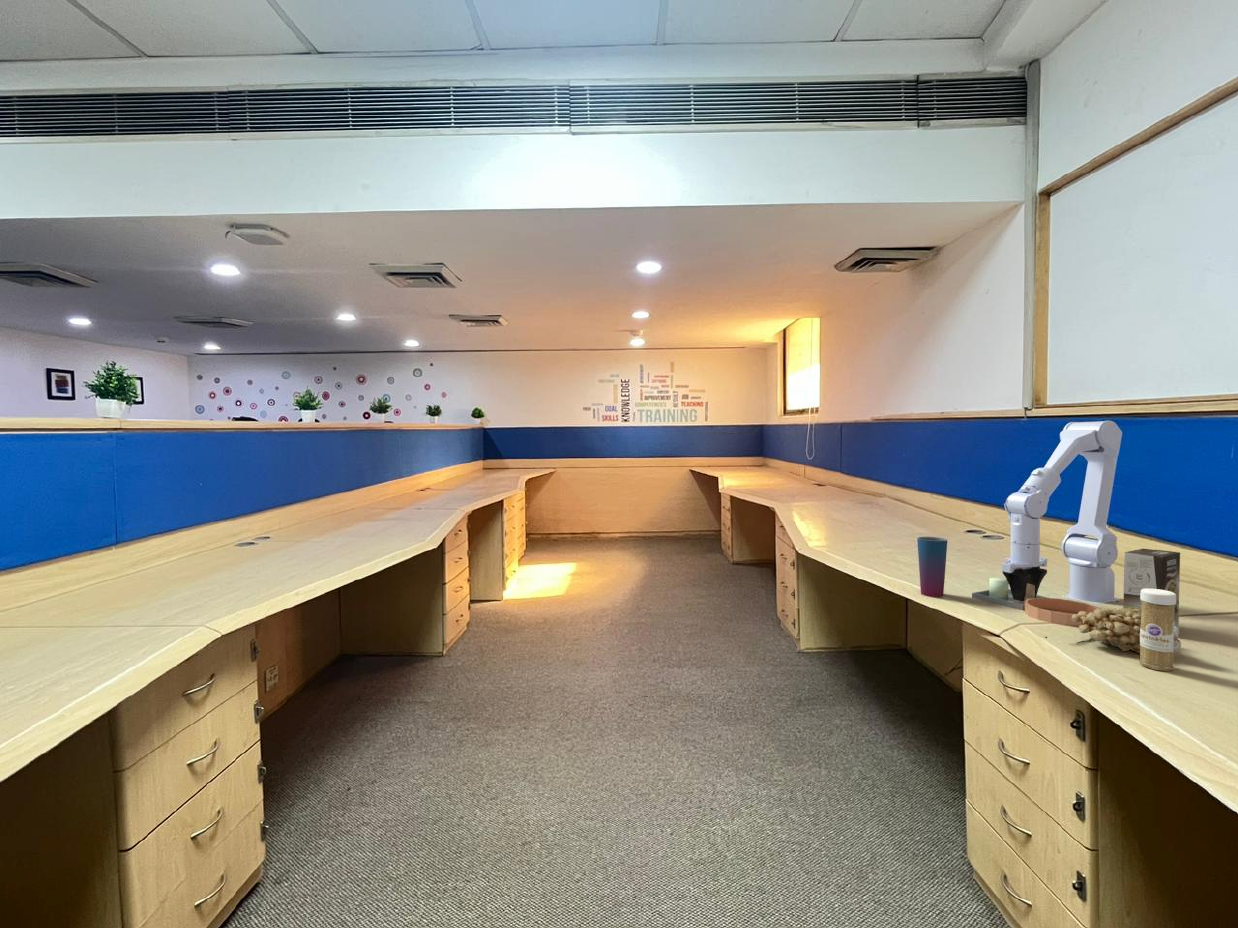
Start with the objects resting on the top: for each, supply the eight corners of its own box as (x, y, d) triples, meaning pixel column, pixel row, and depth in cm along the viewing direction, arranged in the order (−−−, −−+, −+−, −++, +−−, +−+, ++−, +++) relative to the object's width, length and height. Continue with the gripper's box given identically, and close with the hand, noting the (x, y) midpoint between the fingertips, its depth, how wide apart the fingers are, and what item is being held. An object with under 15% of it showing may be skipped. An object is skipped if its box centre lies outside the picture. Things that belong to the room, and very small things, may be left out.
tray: (1000, 594, 148) (1000, 587, 148) (1052, 605, 137) (1052, 598, 137) (971, 600, 143) (971, 592, 143) (1022, 612, 132) (1023, 604, 132)
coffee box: (1161, 635, 116) (1162, 556, 115) (1121, 626, 121) (1122, 551, 121) (1180, 628, 120) (1182, 551, 119) (1141, 619, 126) (1142, 547, 125)
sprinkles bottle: (1139, 667, 100) (1141, 591, 99) (1138, 659, 103) (1139, 586, 103) (1176, 674, 97) (1177, 595, 97) (1173, 665, 100) (1175, 590, 100)
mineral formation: (1189, 664, 101) (1085, 649, 106) (1149, 650, 114) (1058, 638, 119) (1189, 618, 102) (1086, 605, 107) (1149, 609, 114) (1059, 598, 120)
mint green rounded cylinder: (995, 594, 145) (995, 577, 145) (1012, 598, 142) (1012, 580, 142) (985, 596, 144) (985, 578, 144) (1002, 600, 140) (1002, 582, 140)
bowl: (1046, 607, 136) (1046, 595, 136) (1113, 623, 124) (1114, 609, 124) (1012, 615, 130) (1012, 602, 130) (1079, 632, 118) (1079, 618, 118)
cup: (951, 600, 143) (951, 541, 142) (921, 599, 144) (921, 540, 143) (941, 593, 149) (942, 536, 149) (913, 592, 151) (913, 536, 150)
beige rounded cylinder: (1020, 600, 140) (1020, 582, 140) (1038, 604, 136) (1038, 585, 136) (1010, 602, 138) (1010, 584, 138) (1028, 606, 135) (1028, 587, 134)
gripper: (1025, 537, 143) (1024, 591, 144) (988, 542, 137) (988, 598, 138) (1056, 541, 137) (1056, 597, 138) (1020, 547, 131) (1019, 606, 131)
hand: (1024, 598), depth 137 cm, fingers closed on beige rounded cylinder, 4 cm apart
